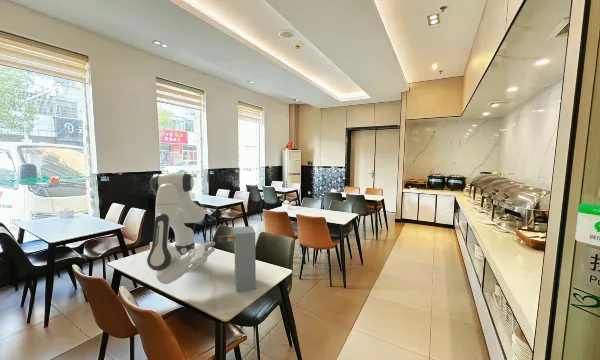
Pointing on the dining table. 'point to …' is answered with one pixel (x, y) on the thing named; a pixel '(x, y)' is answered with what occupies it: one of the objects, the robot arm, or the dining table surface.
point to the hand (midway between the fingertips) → (214, 245)
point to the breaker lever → (226, 238)
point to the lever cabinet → (245, 259)
